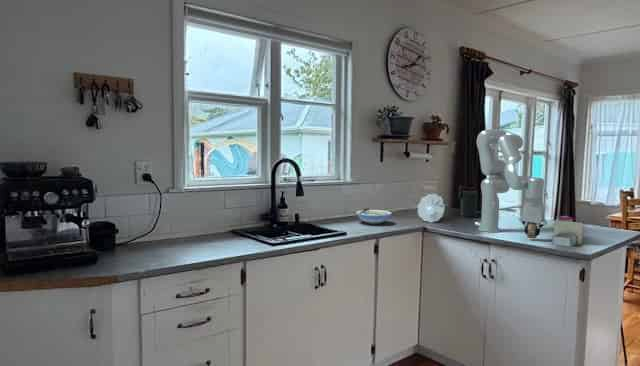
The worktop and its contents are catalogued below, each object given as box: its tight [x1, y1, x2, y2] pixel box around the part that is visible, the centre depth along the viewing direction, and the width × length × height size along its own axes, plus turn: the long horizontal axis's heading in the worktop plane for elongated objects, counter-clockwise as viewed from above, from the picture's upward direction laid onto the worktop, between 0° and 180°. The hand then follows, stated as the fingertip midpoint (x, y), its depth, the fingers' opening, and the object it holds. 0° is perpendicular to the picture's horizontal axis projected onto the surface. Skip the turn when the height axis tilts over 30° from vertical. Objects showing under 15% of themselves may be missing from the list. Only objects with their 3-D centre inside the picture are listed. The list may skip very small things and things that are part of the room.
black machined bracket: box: [457, 185, 478, 219], centre depth 307 cm, size 12×21×22 cm, turn 169°
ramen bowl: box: [356, 207, 392, 225], centre depth 272 cm, size 25×23×8 cm
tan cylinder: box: [526, 222, 537, 239], centre depth 225 cm, size 4×4×8 cm
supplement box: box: [556, 215, 574, 222], centre depth 234 cm, size 6×6×12 cm
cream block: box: [551, 219, 584, 247], centre depth 217 cm, size 13×11×11 cm
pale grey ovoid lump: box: [417, 193, 446, 223], centre depth 287 cm, size 18×18×25 cm
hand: (531, 234), depth 225 cm, fingers closed on tan cylinder, 4 cm apart
